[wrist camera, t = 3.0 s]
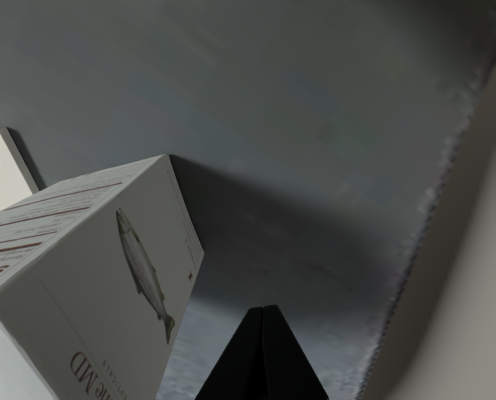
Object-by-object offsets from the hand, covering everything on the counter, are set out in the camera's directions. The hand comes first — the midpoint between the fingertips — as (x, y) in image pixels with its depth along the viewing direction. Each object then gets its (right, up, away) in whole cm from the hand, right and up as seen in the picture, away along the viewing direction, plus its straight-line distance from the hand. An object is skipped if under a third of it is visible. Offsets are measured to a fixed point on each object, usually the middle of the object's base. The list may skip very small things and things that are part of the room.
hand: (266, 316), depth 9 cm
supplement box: (-8, +3, +11) cm, 13 cm away
